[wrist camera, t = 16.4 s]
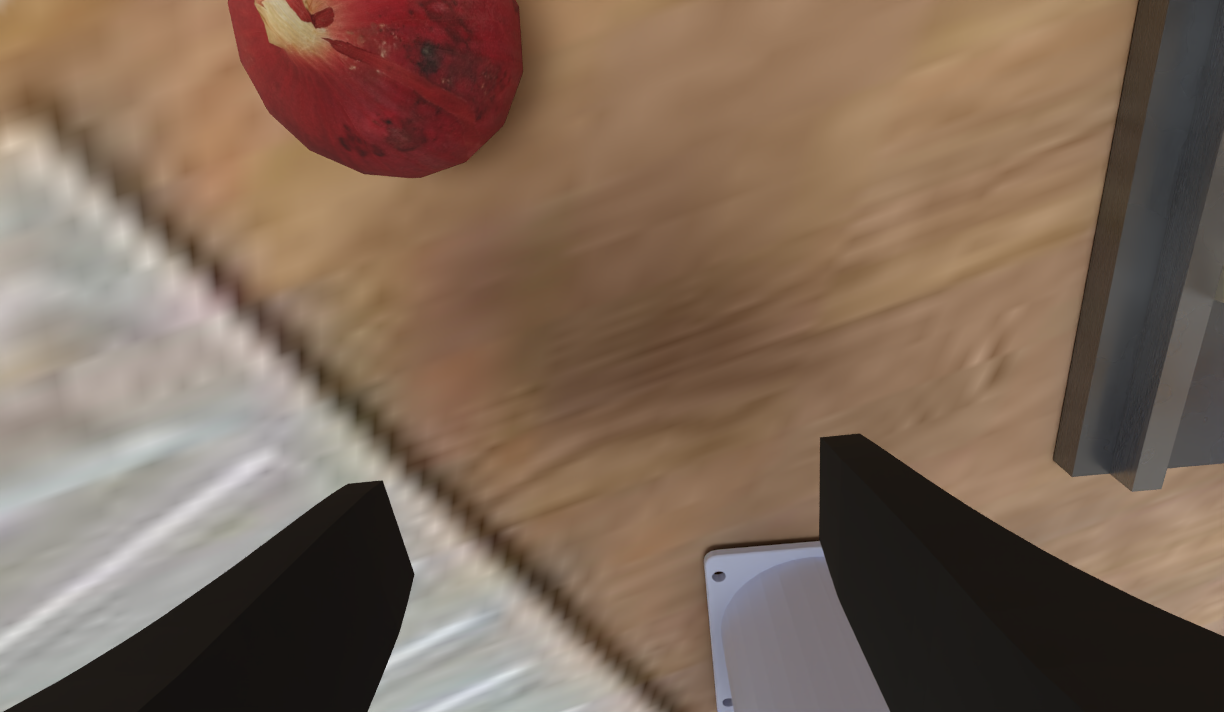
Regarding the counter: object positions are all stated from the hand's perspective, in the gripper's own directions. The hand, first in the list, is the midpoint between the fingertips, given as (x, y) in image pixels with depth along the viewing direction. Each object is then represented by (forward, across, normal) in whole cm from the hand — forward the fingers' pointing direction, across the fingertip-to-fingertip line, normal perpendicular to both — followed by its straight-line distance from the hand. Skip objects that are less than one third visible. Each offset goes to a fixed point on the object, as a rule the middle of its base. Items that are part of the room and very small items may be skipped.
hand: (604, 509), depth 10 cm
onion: (+11, +4, -8) cm, 14 cm away
